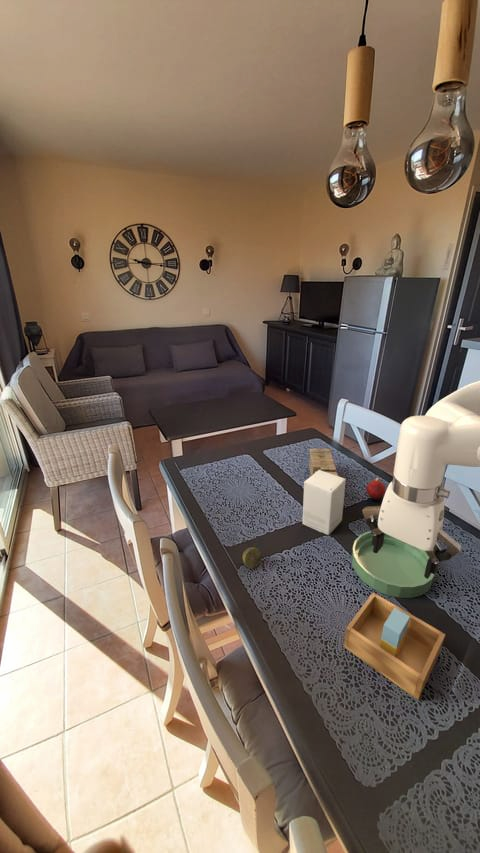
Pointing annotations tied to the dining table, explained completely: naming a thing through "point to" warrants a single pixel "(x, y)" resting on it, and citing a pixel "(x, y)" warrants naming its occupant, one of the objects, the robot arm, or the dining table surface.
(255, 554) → the lime
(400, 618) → the light blue block
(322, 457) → the block tower
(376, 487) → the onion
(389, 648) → the yellow small block
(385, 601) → the holder
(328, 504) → the white product box
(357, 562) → the bowl
